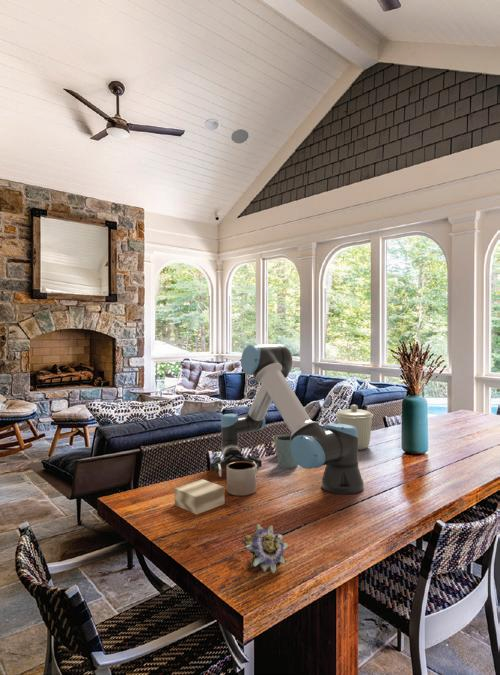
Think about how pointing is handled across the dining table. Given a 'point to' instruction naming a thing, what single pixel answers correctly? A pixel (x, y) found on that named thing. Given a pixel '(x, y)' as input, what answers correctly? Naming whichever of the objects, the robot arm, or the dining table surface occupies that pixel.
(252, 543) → the passion flower
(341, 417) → the canister
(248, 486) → the planter
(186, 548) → the dining table surface
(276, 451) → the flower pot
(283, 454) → the green cup
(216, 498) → the maple block
